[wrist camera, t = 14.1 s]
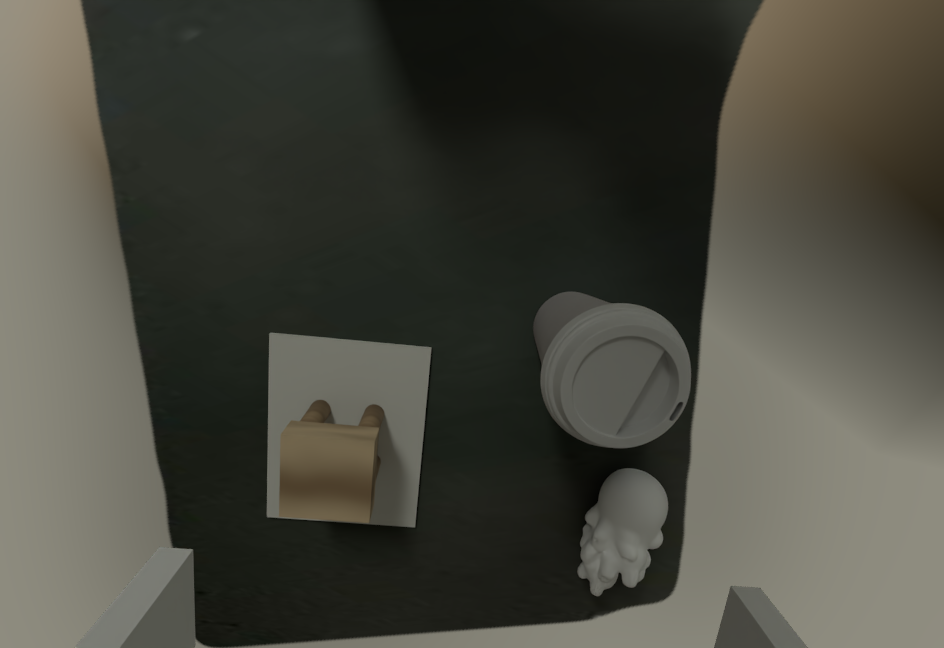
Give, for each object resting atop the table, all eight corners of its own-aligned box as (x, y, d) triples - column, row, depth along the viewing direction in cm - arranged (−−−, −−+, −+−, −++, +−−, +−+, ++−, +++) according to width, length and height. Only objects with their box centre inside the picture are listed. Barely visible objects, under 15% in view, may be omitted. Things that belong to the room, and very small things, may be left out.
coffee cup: (562, 398, 46) (612, 489, 32) (493, 324, 44) (513, 384, 30) (644, 330, 45) (735, 392, 30) (576, 251, 43) (640, 276, 28)
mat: (271, 332, 44) (269, 333, 43) (431, 347, 45) (431, 348, 44) (268, 514, 48) (266, 517, 47) (415, 524, 49) (415, 527, 48)
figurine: (692, 483, 46) (651, 597, 48) (626, 450, 50) (591, 556, 52) (663, 499, 41) (618, 626, 43) (592, 460, 45) (554, 577, 47)
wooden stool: (308, 396, 45) (280, 434, 38) (387, 403, 45) (374, 442, 38) (306, 467, 46) (279, 516, 39) (382, 473, 47) (369, 523, 40)
